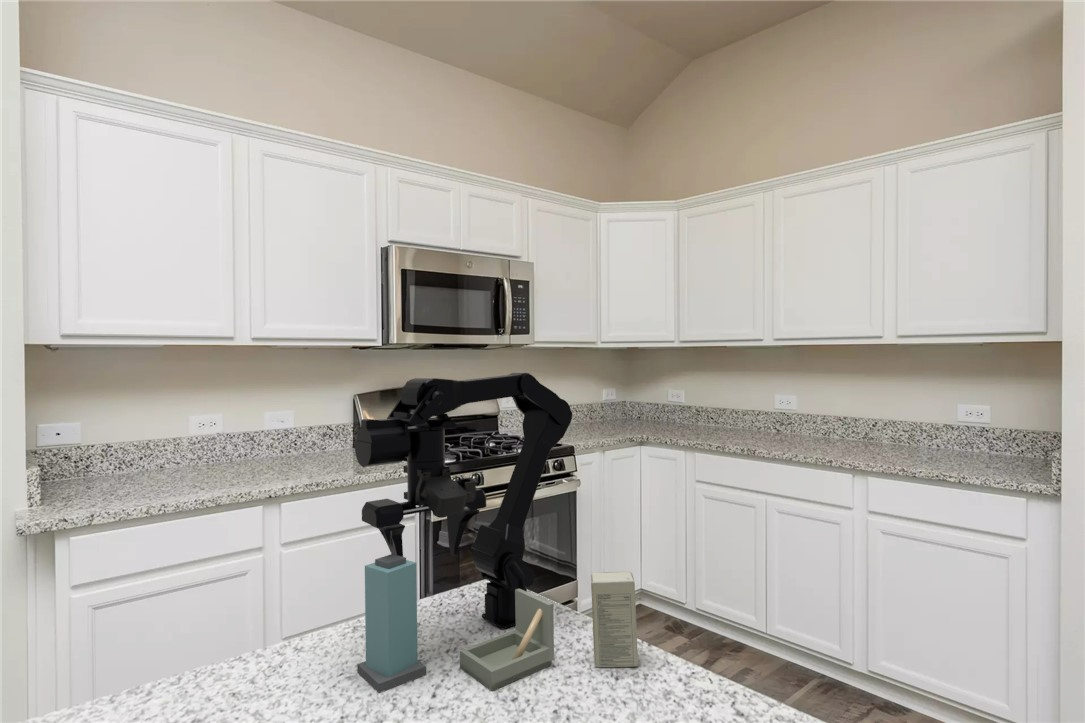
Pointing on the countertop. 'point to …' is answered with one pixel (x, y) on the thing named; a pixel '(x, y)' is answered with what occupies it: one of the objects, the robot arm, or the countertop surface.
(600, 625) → the skincare box
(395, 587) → the module
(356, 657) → the countertop surface
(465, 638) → the countertop surface
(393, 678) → the foam pad
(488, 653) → the case
